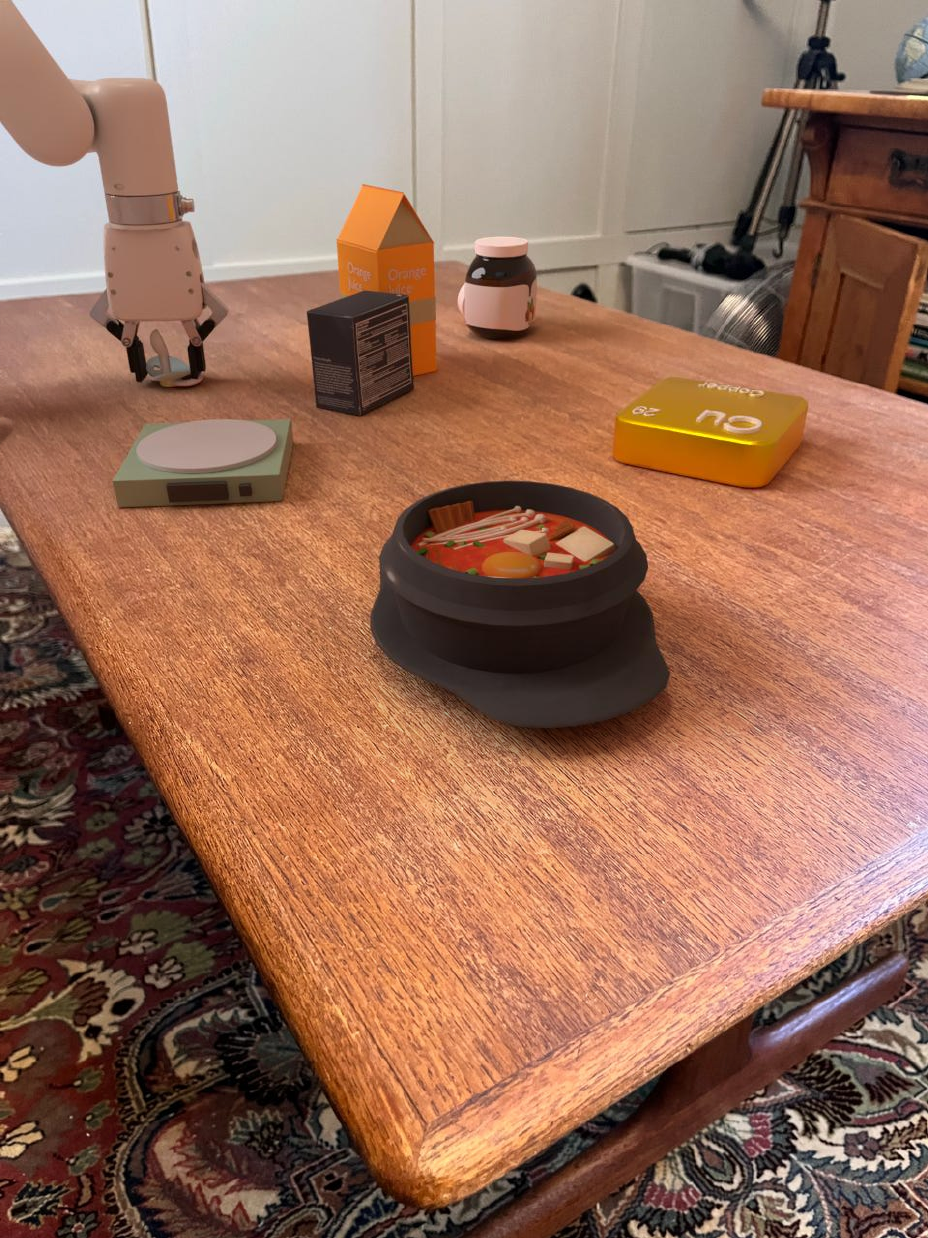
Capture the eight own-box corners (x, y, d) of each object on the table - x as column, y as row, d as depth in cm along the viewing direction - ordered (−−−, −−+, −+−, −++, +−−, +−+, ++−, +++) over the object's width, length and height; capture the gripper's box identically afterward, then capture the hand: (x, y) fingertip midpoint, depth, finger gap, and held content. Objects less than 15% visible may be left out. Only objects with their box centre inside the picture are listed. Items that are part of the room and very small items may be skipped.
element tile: (806, 439, 96) (815, 392, 94) (763, 493, 85) (771, 441, 83) (661, 414, 103) (666, 369, 101) (604, 461, 92) (608, 411, 90)
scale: (116, 510, 83) (109, 477, 82) (149, 448, 96) (144, 418, 94) (282, 503, 84) (278, 471, 83) (293, 442, 97) (290, 413, 95)
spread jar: (507, 345, 125) (508, 250, 119) (433, 334, 131) (431, 242, 125) (550, 324, 134) (553, 234, 128) (479, 314, 139) (479, 227, 133)
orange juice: (382, 382, 113) (372, 195, 102) (344, 365, 119) (331, 186, 109) (438, 370, 117) (434, 188, 106) (398, 353, 123) (390, 180, 113)
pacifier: (196, 371, 118) (145, 376, 115) (190, 318, 114) (137, 322, 112) (209, 388, 112) (156, 394, 110) (203, 333, 109) (148, 338, 107)
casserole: (325, 582, 72) (315, 476, 68) (550, 537, 78) (554, 438, 74) (452, 790, 52) (449, 659, 48) (740, 708, 59) (761, 585, 54)
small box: (369, 380, 114) (363, 287, 108) (416, 389, 111) (412, 294, 105) (312, 407, 106) (303, 308, 100) (361, 417, 103) (354, 315, 98)
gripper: (230, 204, 108) (248, 367, 117) (70, 205, 107) (101, 369, 116) (222, 215, 101) (241, 386, 111) (51, 216, 100) (85, 389, 109)
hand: (169, 376), depth 113 cm, fingers closed on pacifier, 5 cm apart
